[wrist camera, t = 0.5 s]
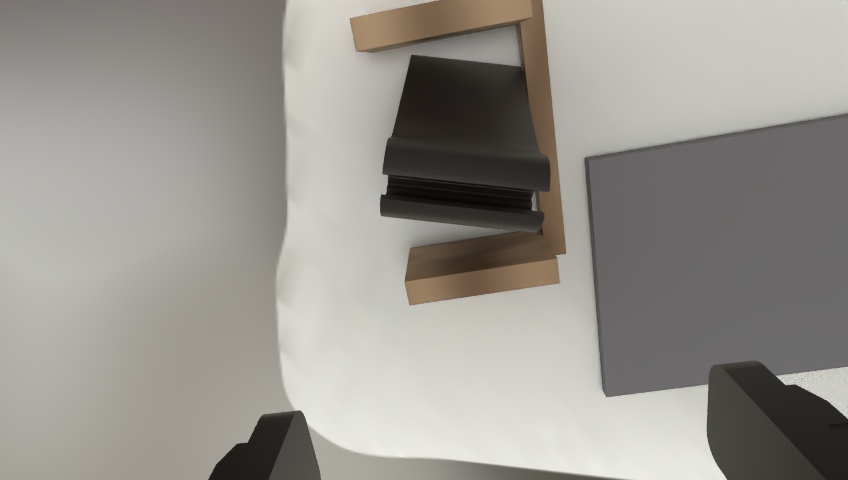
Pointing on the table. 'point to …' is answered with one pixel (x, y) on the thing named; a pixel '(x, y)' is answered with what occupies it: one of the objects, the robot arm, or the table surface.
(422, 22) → the holder
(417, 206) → the phone stand
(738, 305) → the mat
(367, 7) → the table surface
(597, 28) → the table surface
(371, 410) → the table surface
